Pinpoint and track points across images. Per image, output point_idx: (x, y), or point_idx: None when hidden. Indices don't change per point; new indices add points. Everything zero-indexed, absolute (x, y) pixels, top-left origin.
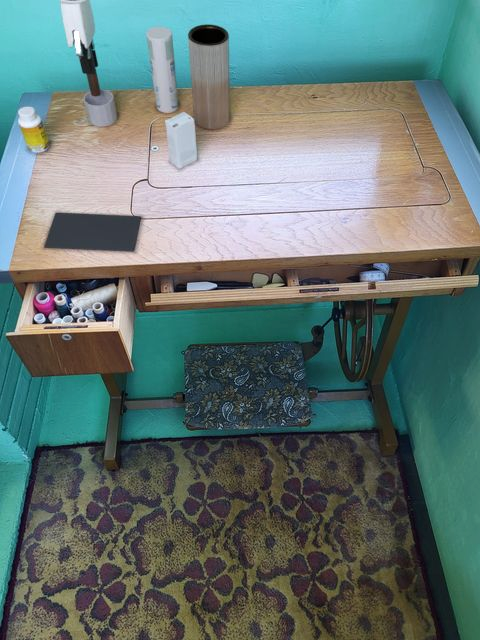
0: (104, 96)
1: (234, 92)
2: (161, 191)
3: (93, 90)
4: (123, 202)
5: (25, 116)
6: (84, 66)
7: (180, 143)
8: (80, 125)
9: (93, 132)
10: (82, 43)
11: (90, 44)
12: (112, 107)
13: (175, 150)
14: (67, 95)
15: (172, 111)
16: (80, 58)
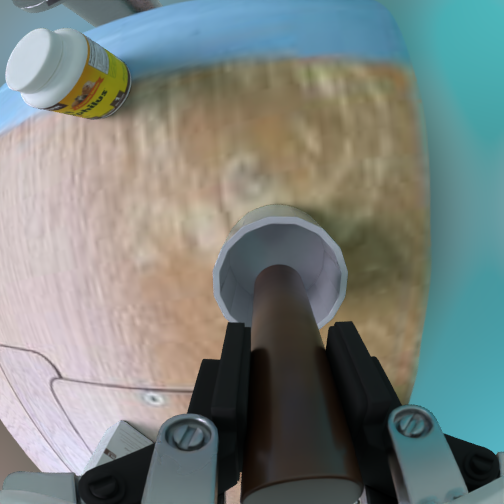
0: (333, 284)
1: None
2: (48, 394)
3: (253, 299)
4: (5, 333)
5: (7, 72)
6: (195, 388)
7: None
8: (226, 183)
9: (191, 237)
10: (395, 468)
11: (383, 490)
12: None
13: (94, 454)
14: (403, 110)
15: None
16: (174, 428)
